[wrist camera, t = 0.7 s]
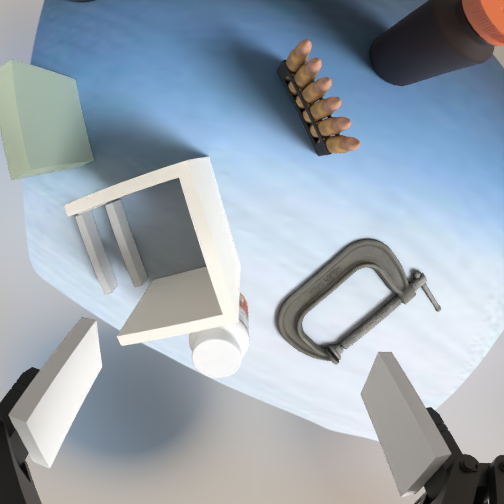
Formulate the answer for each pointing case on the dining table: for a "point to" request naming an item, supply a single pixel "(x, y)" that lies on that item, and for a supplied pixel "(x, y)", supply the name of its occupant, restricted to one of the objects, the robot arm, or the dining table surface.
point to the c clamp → (331, 278)
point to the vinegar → (438, 40)
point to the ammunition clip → (307, 93)
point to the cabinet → (179, 285)
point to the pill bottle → (221, 345)
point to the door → (41, 121)
